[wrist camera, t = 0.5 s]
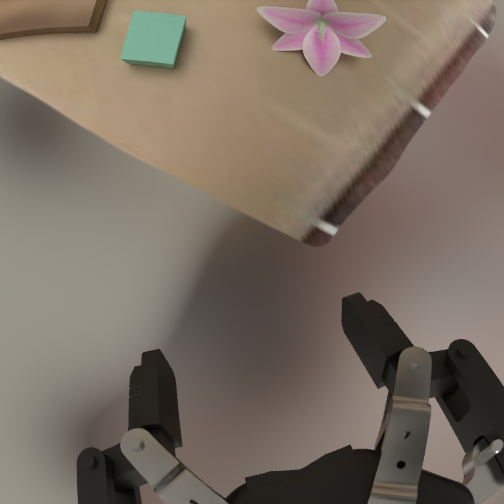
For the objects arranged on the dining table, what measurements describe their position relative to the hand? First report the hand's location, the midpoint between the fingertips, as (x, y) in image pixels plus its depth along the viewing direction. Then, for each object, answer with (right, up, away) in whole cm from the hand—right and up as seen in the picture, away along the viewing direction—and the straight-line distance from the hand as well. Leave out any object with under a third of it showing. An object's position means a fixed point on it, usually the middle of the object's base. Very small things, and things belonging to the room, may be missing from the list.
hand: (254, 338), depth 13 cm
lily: (+6, +28, +16) cm, 33 cm away
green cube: (-10, +25, +13) cm, 30 cm away
